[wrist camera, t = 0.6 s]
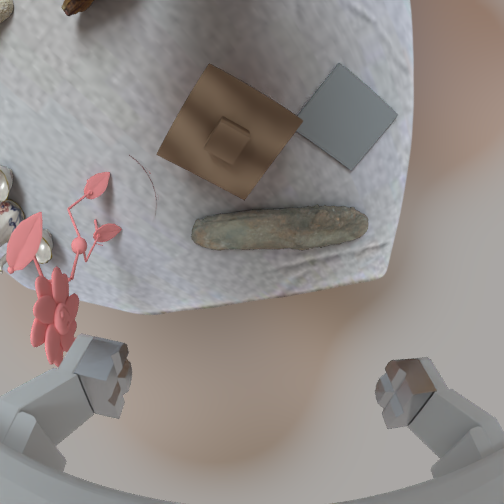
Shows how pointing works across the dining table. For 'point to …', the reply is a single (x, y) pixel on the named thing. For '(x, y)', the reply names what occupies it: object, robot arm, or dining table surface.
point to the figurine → (55, 276)
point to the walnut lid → (228, 132)
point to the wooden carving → (75, 6)
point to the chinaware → (17, 220)
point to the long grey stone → (280, 228)
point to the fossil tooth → (5, 9)
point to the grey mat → (345, 117)
